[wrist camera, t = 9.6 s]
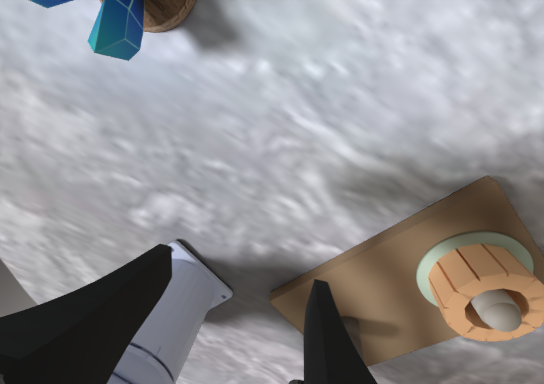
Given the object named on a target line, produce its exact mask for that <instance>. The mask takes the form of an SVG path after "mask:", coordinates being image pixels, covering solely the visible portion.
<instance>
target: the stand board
mask: <svg viewBox="0 0 544 384" xmlns="http://www.w3.org/2000/svg"><path fill="white" fill-rule="evenodd" d="M479 243H480V244H481V245H482V244H483V243H484V244H488V245H493V246H498V247H503V248H505V249H507V250H508V251H509V252H510V253H511V254H512V255H513V256H515V257H516V258H517V259H518V260H519V261H520V262H521V263H522V264H523V265H524V266H525V267H526V268H527V269H528V270H529V271H530V272H531V273H532V274H533V275H534V276H535V277H536V278H537V279H538V280H539V281H540V282H541V283H542V284H543V285H544V256H543V255H542V253H541V251H540V250H539V248H538V247H537V245H536V243H535V242H534V240H533V239H532V237H531V235H530V234H529V232H528V231H527V229H526V227H525V226H524V224H523V223H522V221H521V219H520V218H519V216H518V215H517V213H516V212H515V210H514V208H513V207H512V205H511V204H510V202H509V200H508V199H507V197H506V196H505V194H504V192H503V191H502V189H501V188H500V186H499V184H498V183H497V182H496V181H494V180H493V179H491V178H490V177H488V176H485V177H483V178H481V179H479V180H477V181H475V182H474V183H472V184H470V185H468V186H466V187H464V188H463V189H461V190H459V191H457V192H455V193H453V194H451V195H450V196H448V197H446V198H444V199H442V200H440V201H438V202H437V203H435V204H433V205H431V206H429V207H427V208H426V209H424V210H422V211H420V212H418V213H416V214H414V215H413V216H411V217H409V218H407V219H405V220H403V221H402V222H400V223H398V224H396V225H394V226H392V227H390V228H389V229H387V230H385V231H383V232H381V233H379V234H378V235H376V236H374V237H372V238H370V239H368V240H366V241H365V242H363V243H361V244H359V245H357V246H355V247H353V248H352V249H350V250H348V251H346V252H344V253H342V254H341V255H339V256H337V257H335V258H333V259H331V260H329V261H328V262H326V263H324V264H322V265H320V266H318V267H317V268H315V269H313V270H311V271H309V272H307V273H305V274H304V275H302V276H300V277H298V278H296V279H294V280H293V281H291V282H289V283H287V284H285V285H283V286H281V287H280V288H278V289H276V290H274V291H272V292H271V294H270V298H269V303H270V304H271V305H272V306H273V307H275V308H276V309H277V310H278V311H279V312H280V313H281V314H282V315H283V316H284V317H285V318H286V319H287V320H288V321H289V322H290V323H291V324H292V325H293V326H294V327H296V328H297V329H298V330H299V331H300V332H301V333H302V334H303V335H304V321H305V311H306V306H307V302H308V299H309V296H310V292H311V289H312V286H313V282H314V279H317V280H322V281H326V282H328V284H329V286H330V290H331V293H332V296H333V298H334V301H335V304H336V306H337V309H338V311H339V314H340V316H341V318H342V321H343V323H344V325H345V327H346V329H347V332H348V334H349V336H350V338H351V340H352V342H353V344H354V345H355V347H356V349H357V351H358V353H359V355H360V356H361V358H362V360H363V362H364V363H365V365H366V367H367V366H370V365H373V364H376V363H379V362H382V361H385V360H388V359H391V358H394V357H397V356H400V355H403V354H406V353H409V352H412V351H415V350H418V349H421V348H424V347H427V346H430V345H434V344H437V343H440V342H443V341H446V340H449V339H452V338H455V337H458V336H461V335H460V334H458V333H457V332H456V331H455V330H453V329H452V328H451V327H450V326H448V324H447V323H446V321H445V319H444V317H443V315H442V313H441V311H440V309H439V307H438V305H437V303H436V301H435V299H434V297H433V295H432V292H431V290H430V286H429V281H428V277H429V276H428V274H429V273H430V271H431V269H432V267H433V265H434V264H435V262H436V261H437V262H439V261H438V259H439V258H441V257H442V256H444V255H445V254H447V253H449V252H450V251H452V250H453V249H456V250H457V251H458V247H463V246H468V245H474V244H479ZM470 302H471V304H472V305H473V307H474V308H475V310H476V312H477V313H478V315H479V316H480V318H481V319H482V321H483V322H484V323H486V324H488V325H489V326H490V327H492V328H494V329H496V330H498V331H502V332H511V331H514V330H516V329H518V328H519V326H520V325H521V322H522V316H521V310H520V308H519V307H518V305H517V304H516V303H515V302H514V301H513V299H512V298H511V297H510V296H509V295H508V293H507V292H506V291H505V290H504V289H503V288H502V289H495V290H488V291H484V292H483V293H481V294H479V295H477V296H475V297H473V298H471V300H470Z"/></svg>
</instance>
